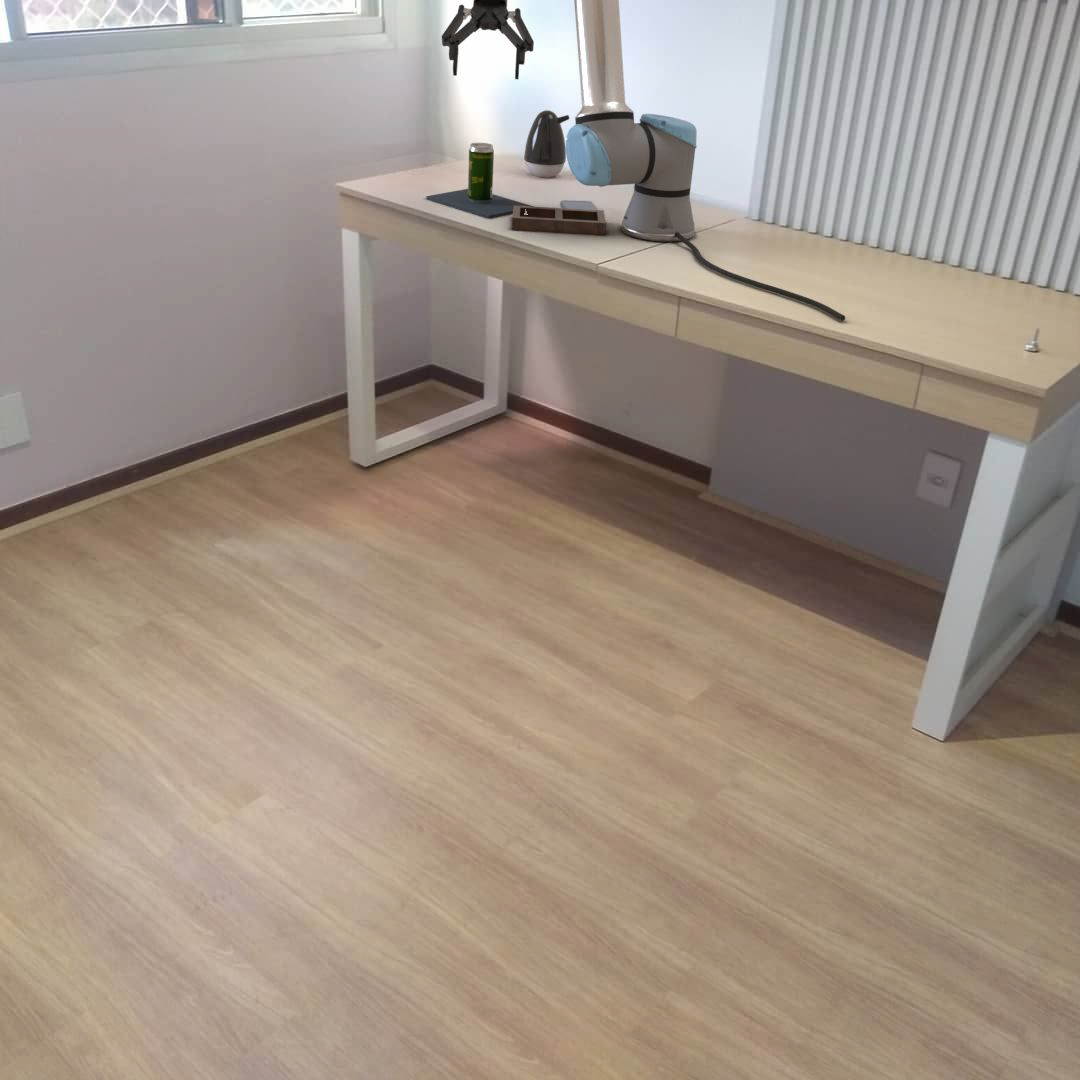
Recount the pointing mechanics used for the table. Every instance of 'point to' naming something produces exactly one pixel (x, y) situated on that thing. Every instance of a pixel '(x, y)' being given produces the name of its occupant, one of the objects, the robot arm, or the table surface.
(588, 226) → the can stand
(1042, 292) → the table surface
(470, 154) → the beer can
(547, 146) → the pump dispenser
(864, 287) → the table surface
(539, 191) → the table surface
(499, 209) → the slate mat
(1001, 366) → the table surface
